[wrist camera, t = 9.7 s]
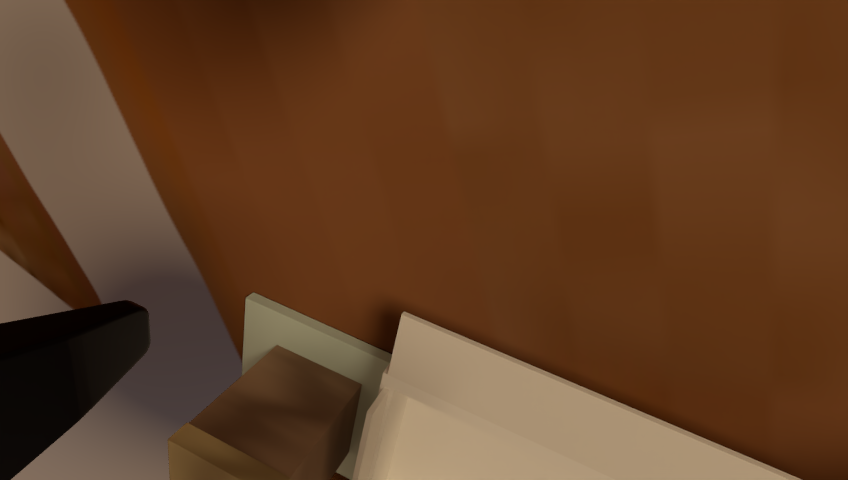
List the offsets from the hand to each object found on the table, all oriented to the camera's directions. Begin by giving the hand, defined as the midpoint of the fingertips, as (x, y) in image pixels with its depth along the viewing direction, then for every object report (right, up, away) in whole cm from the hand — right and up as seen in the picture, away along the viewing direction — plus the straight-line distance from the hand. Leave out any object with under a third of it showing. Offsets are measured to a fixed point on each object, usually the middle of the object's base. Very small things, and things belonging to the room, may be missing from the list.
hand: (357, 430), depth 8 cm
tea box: (-5, -5, +18) cm, 20 cm away
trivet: (-5, -5, +19) cm, 20 cm away
